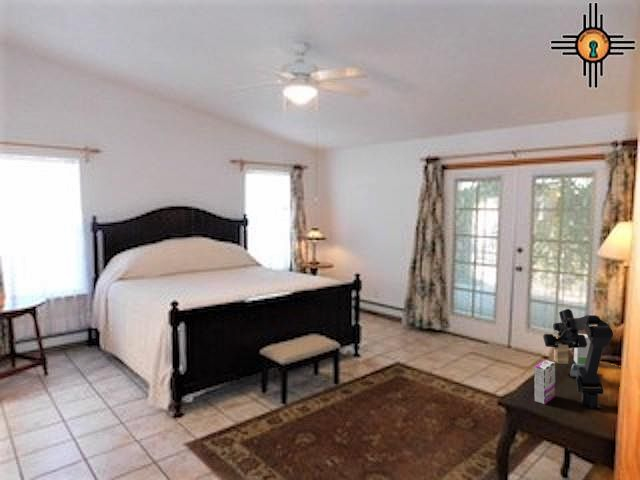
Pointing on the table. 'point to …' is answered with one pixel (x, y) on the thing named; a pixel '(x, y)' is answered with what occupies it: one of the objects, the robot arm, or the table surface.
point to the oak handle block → (561, 353)
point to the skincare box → (581, 353)
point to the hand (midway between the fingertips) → (560, 347)
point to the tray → (575, 370)
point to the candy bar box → (544, 381)
